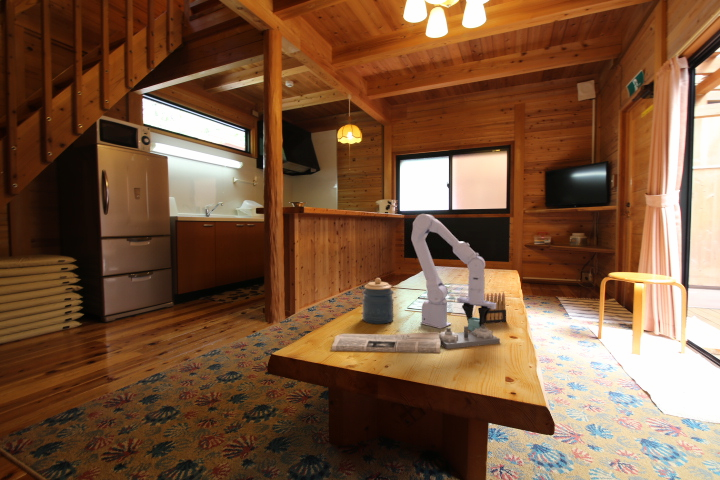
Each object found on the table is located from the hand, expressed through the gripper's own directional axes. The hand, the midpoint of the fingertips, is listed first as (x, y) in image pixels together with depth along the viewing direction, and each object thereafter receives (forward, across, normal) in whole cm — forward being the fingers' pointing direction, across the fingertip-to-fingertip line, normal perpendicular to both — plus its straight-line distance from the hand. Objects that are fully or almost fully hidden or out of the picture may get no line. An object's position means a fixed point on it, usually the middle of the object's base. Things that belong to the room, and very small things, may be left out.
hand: (475, 324), depth 123 cm
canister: (+2, +34, +17) cm, 39 cm away
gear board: (+2, -4, +14) cm, 15 cm away
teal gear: (+2, 0, 0) cm, 2 cm away
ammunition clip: (+2, 0, -14) cm, 14 cm away
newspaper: (+3, +13, +35) cm, 38 cm away
